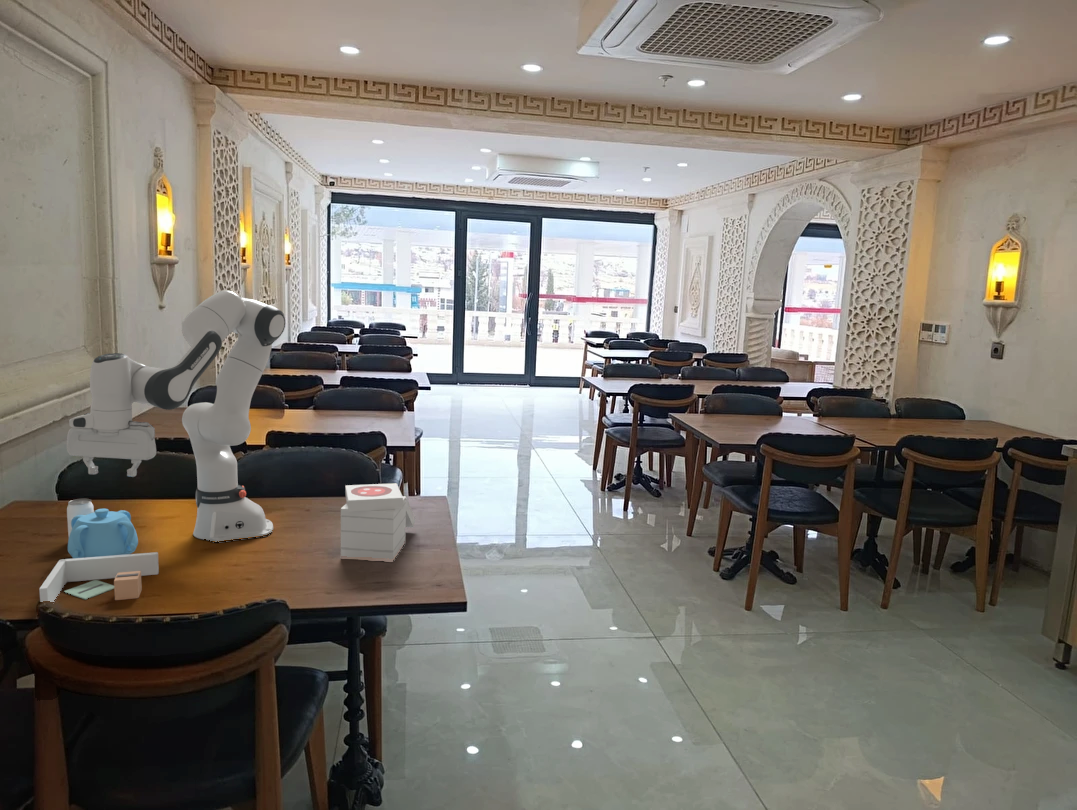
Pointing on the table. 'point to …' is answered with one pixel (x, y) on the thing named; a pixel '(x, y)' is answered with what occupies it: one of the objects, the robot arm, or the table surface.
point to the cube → (127, 585)
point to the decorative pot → (102, 534)
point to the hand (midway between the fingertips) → (112, 475)
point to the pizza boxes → (374, 520)
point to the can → (78, 510)
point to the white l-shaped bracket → (94, 573)
